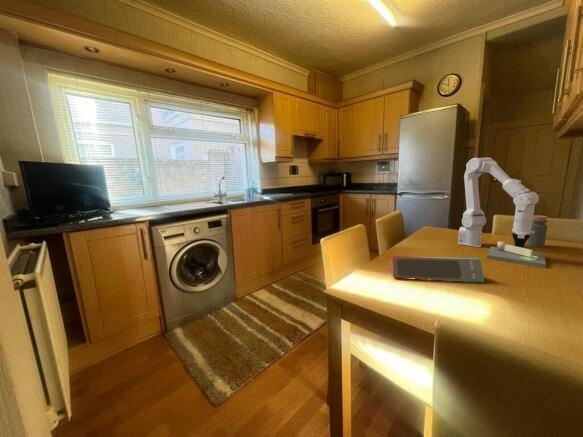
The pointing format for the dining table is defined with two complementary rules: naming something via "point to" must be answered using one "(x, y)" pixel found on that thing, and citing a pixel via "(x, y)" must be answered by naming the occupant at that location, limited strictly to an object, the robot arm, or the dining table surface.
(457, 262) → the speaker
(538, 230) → the bottle
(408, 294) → the dining table surface
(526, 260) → the board
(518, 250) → the peg lever
